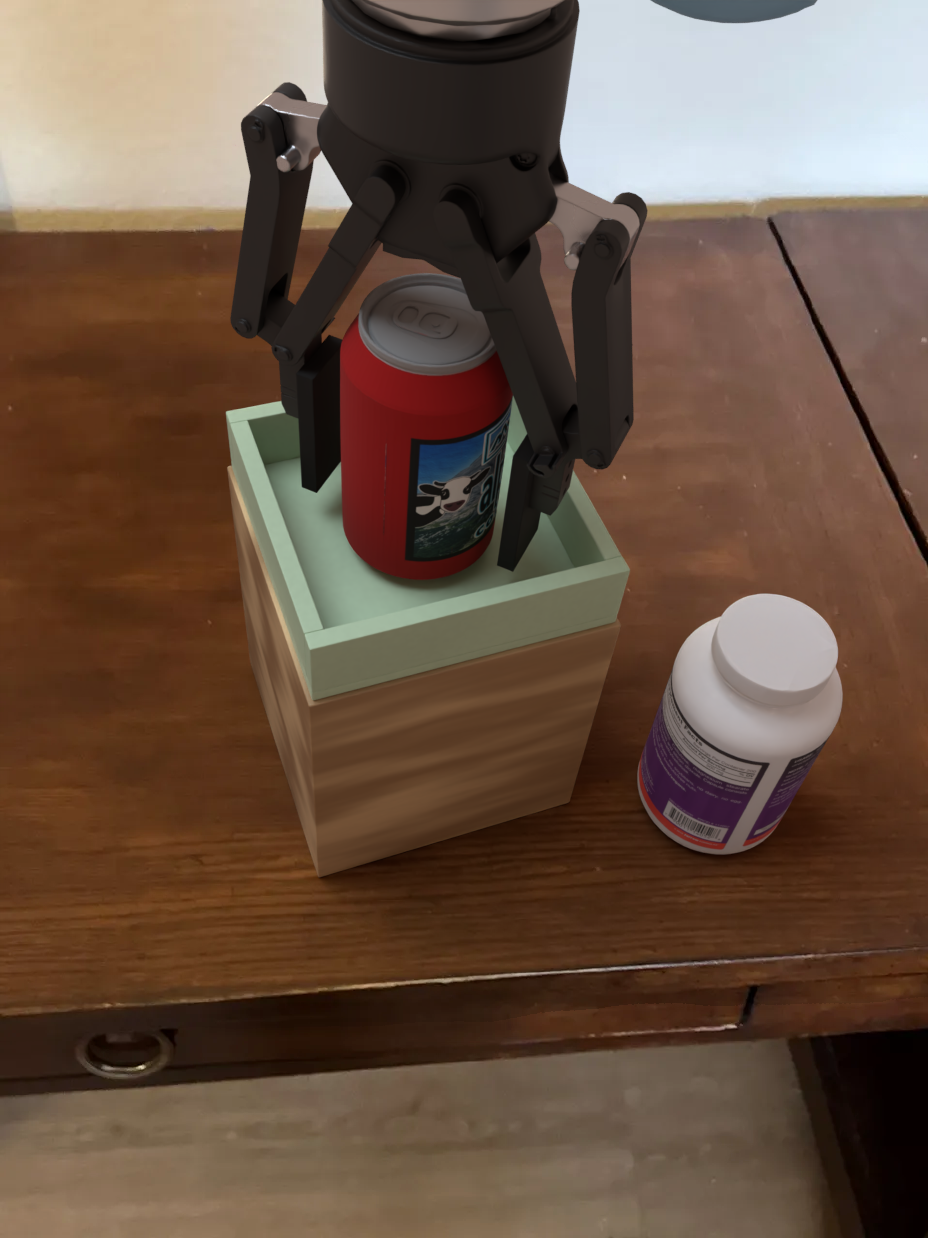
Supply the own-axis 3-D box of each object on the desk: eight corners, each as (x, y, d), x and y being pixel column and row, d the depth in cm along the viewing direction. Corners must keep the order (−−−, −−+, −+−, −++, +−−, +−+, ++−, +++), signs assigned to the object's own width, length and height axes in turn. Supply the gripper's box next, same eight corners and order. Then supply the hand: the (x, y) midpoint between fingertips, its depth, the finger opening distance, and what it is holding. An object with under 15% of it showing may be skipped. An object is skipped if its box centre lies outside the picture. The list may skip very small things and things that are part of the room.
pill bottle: (753, 725, 69) (831, 563, 58) (799, 852, 64) (896, 704, 53) (616, 740, 68) (669, 578, 56) (654, 871, 63) (720, 723, 52)
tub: (615, 622, 53) (630, 570, 50) (312, 701, 49) (309, 649, 46) (502, 412, 60) (509, 356, 57) (231, 468, 56) (225, 411, 54)
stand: (569, 803, 65) (621, 624, 53) (318, 878, 62) (308, 706, 49) (478, 606, 73) (504, 409, 60) (250, 662, 69) (226, 465, 57)
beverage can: (461, 612, 52) (485, 402, 42) (316, 562, 53) (308, 346, 43) (513, 505, 56) (547, 291, 46) (378, 460, 57) (383, 242, 47)
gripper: (845, 23, 35) (678, 539, 53) (201, -160, 39) (249, 375, 57) (774, 150, 30) (618, 665, 48) (59, -72, 35) (160, 476, 53)
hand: (419, 507), depth 53 cm, fingers open, 9 cm apart
